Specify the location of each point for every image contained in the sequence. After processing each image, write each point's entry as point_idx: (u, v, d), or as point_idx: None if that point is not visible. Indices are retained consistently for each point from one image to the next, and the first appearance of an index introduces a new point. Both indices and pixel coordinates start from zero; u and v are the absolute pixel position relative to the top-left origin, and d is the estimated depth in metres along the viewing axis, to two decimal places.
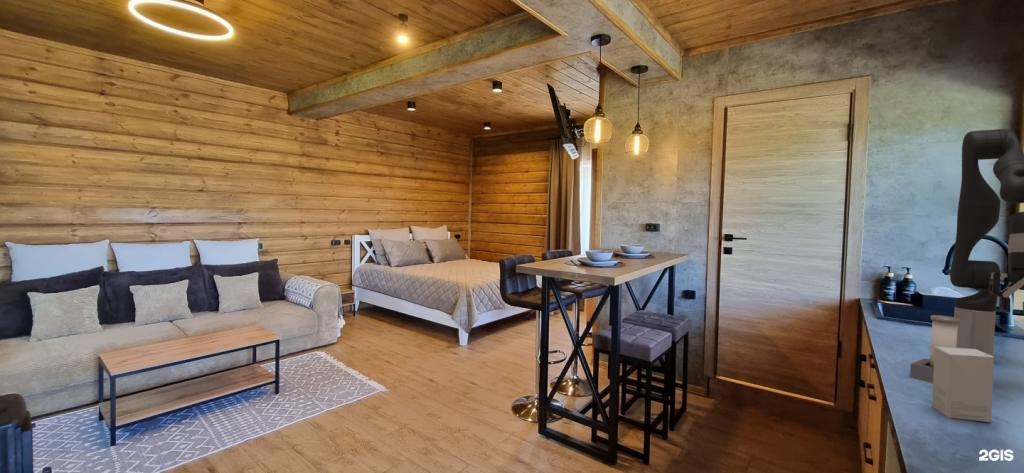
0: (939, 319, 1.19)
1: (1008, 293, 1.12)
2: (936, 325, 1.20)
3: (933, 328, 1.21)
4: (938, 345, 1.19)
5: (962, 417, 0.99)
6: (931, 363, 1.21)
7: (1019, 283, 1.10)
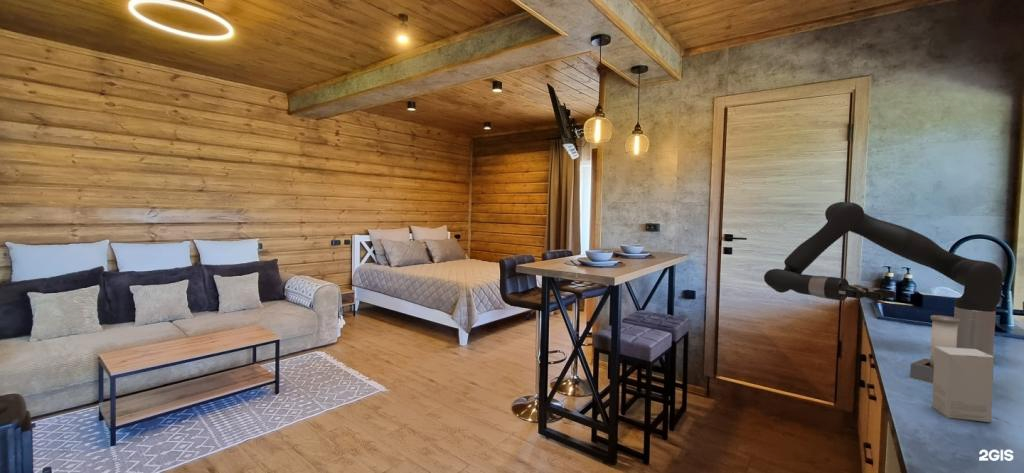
0: (939, 319, 1.19)
1: None
2: (936, 325, 1.20)
3: (933, 328, 1.21)
4: (938, 345, 1.19)
5: (962, 417, 0.99)
6: (931, 363, 1.21)
7: None
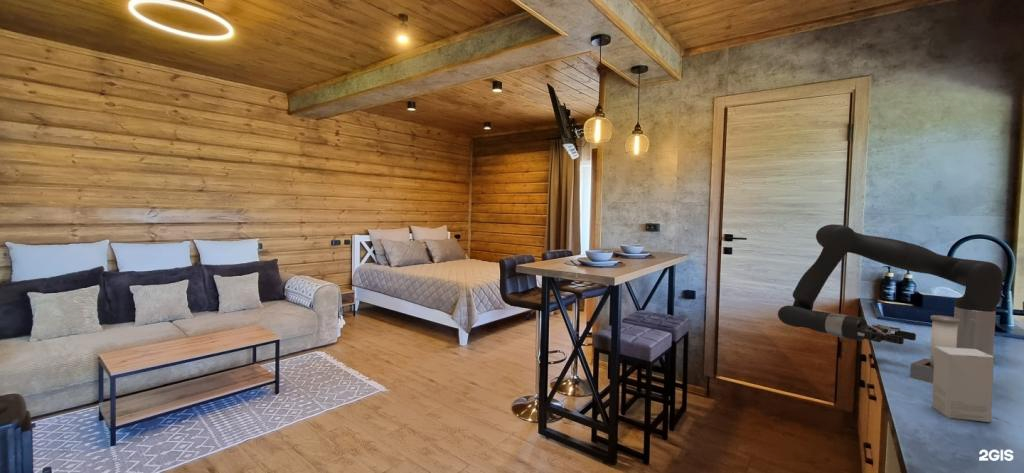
0: (939, 319, 1.19)
1: None
2: (936, 325, 1.20)
3: (933, 328, 1.21)
4: (938, 345, 1.19)
5: (962, 417, 0.99)
6: (931, 363, 1.21)
7: None
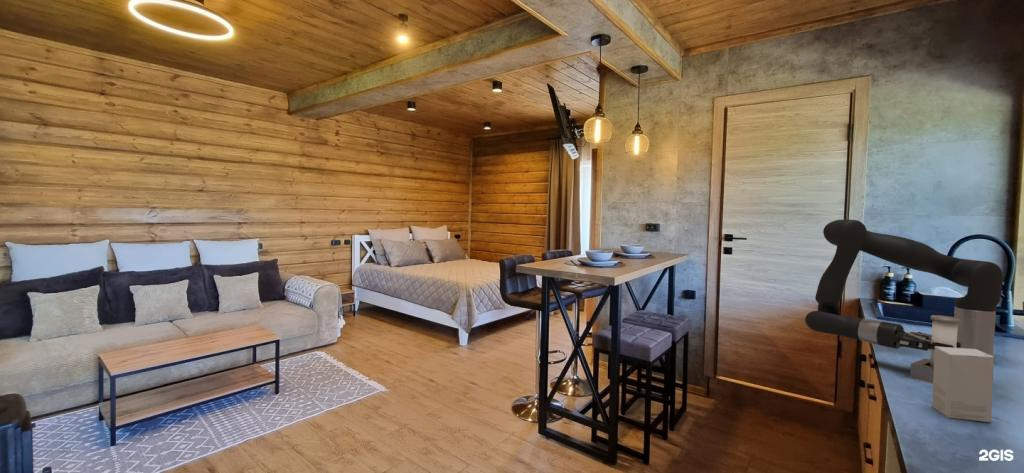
0: (939, 319, 1.19)
1: None
2: (936, 325, 1.20)
3: (933, 328, 1.21)
4: None
5: (962, 417, 0.99)
6: (931, 363, 1.21)
7: None
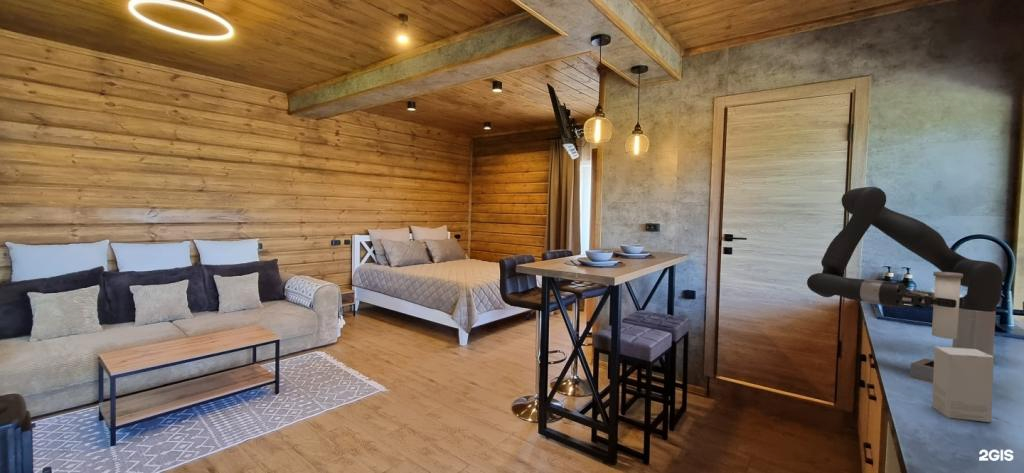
0: (942, 274, 1.18)
1: None
2: (938, 281, 1.19)
3: (936, 284, 1.20)
4: None
5: (962, 417, 0.99)
6: (934, 319, 1.20)
7: None
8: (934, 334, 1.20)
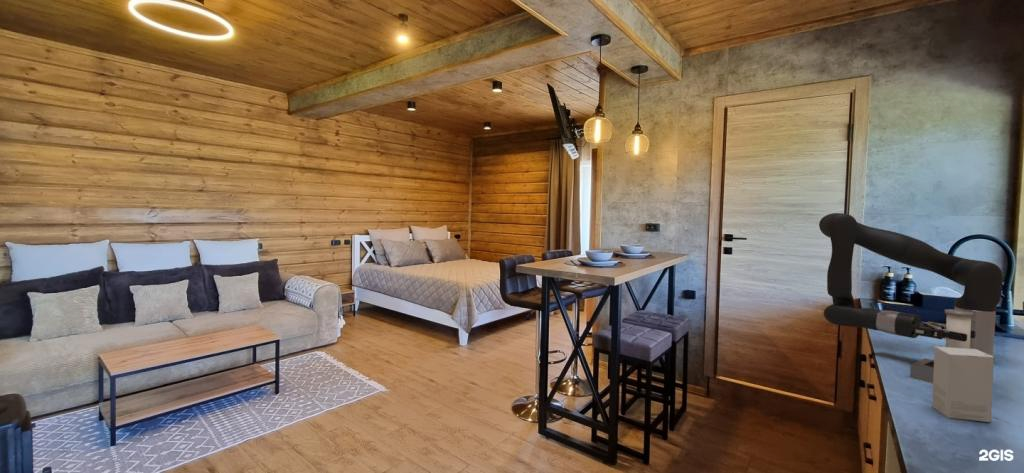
0: (953, 313, 1.25)
1: None
2: (950, 319, 1.26)
3: (947, 321, 1.27)
4: None
5: (962, 417, 0.99)
6: None
7: None
8: None
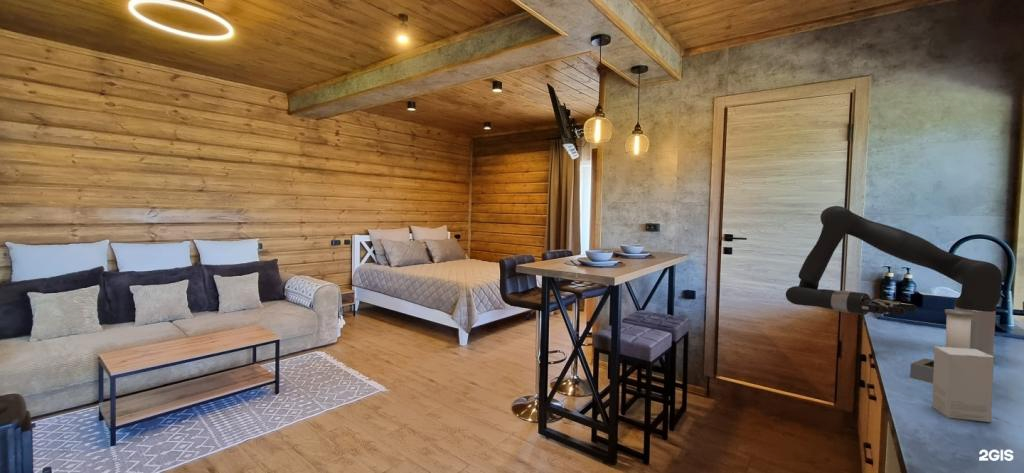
0: (953, 312, 1.25)
1: None
2: (950, 319, 1.26)
3: (947, 321, 1.27)
4: (953, 337, 1.26)
5: (962, 417, 0.99)
6: None
7: None
8: None
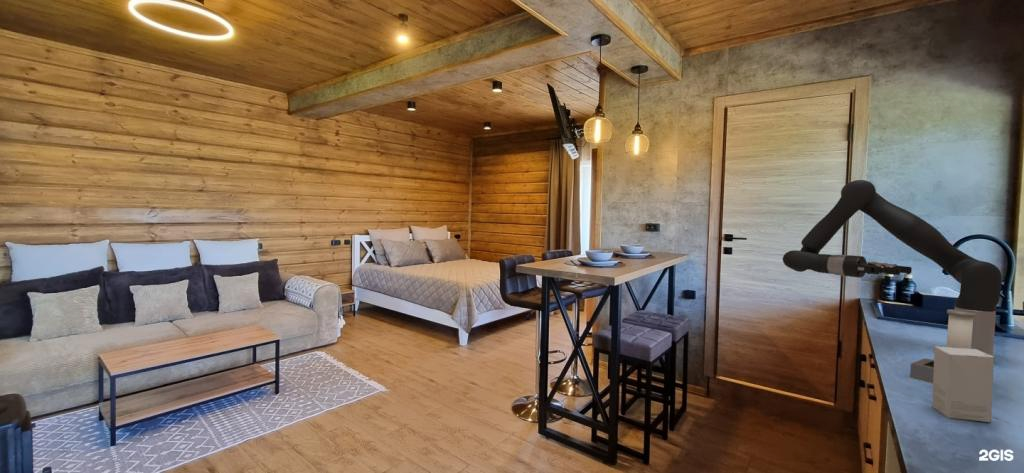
0: (955, 313, 1.25)
1: None
2: (952, 319, 1.26)
3: (949, 321, 1.27)
4: (954, 337, 1.25)
5: (962, 417, 0.99)
6: None
7: None
8: None
